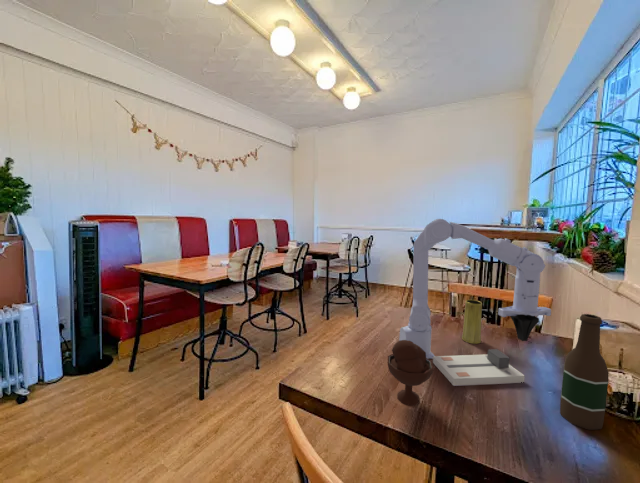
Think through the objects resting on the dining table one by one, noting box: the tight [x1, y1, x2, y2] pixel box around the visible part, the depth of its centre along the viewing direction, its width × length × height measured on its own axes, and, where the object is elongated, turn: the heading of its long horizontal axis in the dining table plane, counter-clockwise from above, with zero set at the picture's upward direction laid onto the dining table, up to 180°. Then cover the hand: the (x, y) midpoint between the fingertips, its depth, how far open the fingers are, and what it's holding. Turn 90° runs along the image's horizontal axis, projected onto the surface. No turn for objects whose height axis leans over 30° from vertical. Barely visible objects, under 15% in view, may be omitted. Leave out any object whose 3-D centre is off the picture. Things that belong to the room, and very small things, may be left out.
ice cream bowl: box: [387, 340, 434, 406], centre depth 73 cm, size 11×11×15 cm
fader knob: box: [487, 348, 510, 368], centre depth 85 cm, size 3×5×3 cm, turn 5°
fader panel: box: [432, 353, 526, 387], centre depth 85 cm, size 20×12×2 cm, turn 95°
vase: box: [461, 299, 483, 345], centre depth 105 cm, size 6×6×14 cm
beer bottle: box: [559, 313, 610, 431], centre depth 65 cm, size 8×8×24 cm
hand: (522, 339), depth 85 cm, fingers closed
